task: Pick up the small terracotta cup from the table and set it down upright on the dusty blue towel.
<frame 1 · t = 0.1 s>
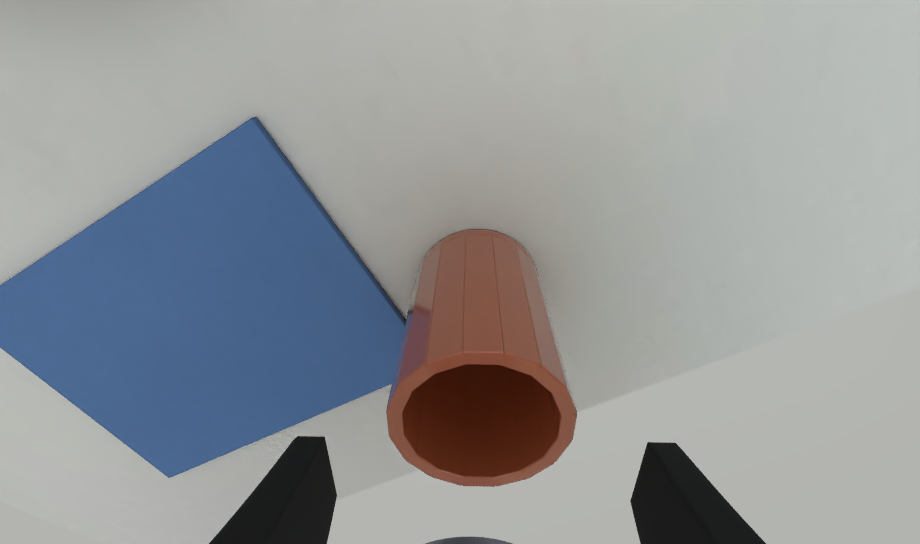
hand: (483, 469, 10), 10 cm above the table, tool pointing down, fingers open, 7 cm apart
towel: (205, 335, 21), on the table
cup: (477, 284, 19), on the table
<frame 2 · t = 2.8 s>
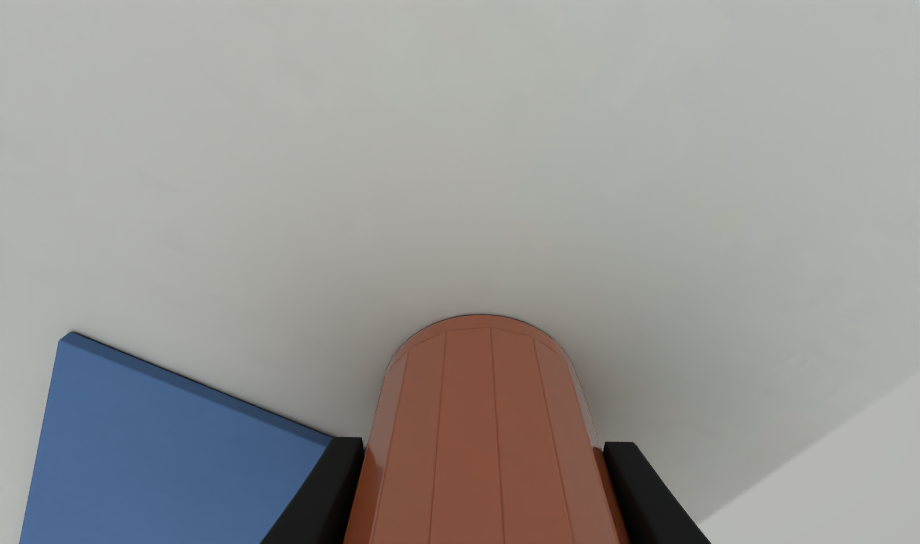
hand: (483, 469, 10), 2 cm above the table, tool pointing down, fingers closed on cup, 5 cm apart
cup: (480, 393, 12), on the table, touching gripper
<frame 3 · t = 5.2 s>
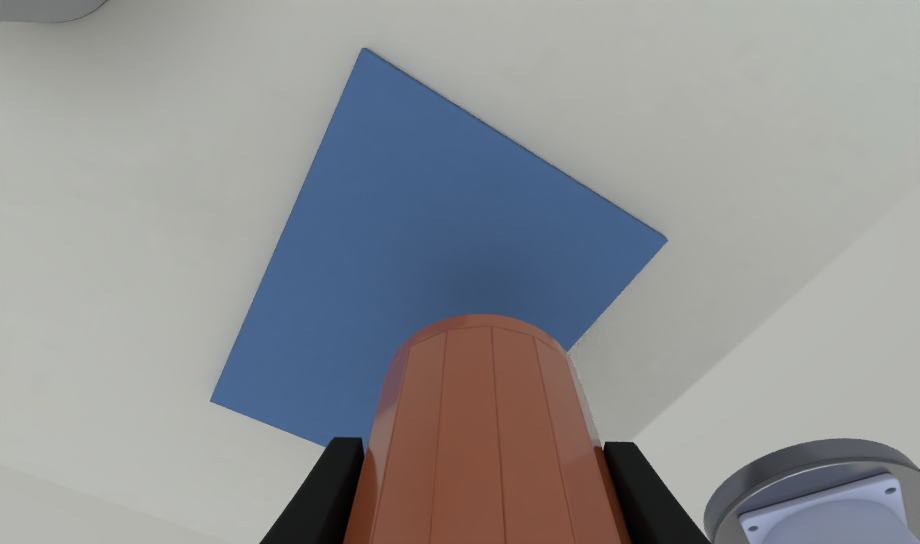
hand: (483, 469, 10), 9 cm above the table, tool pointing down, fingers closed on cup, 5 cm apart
towel: (412, 325, 20), on the table
cup: (480, 392, 12), point 7 cm above the table, touching gripper
when the fingers open (3 cm above the table, at t = 7.8 s): cup stays where it is, resting on towel.
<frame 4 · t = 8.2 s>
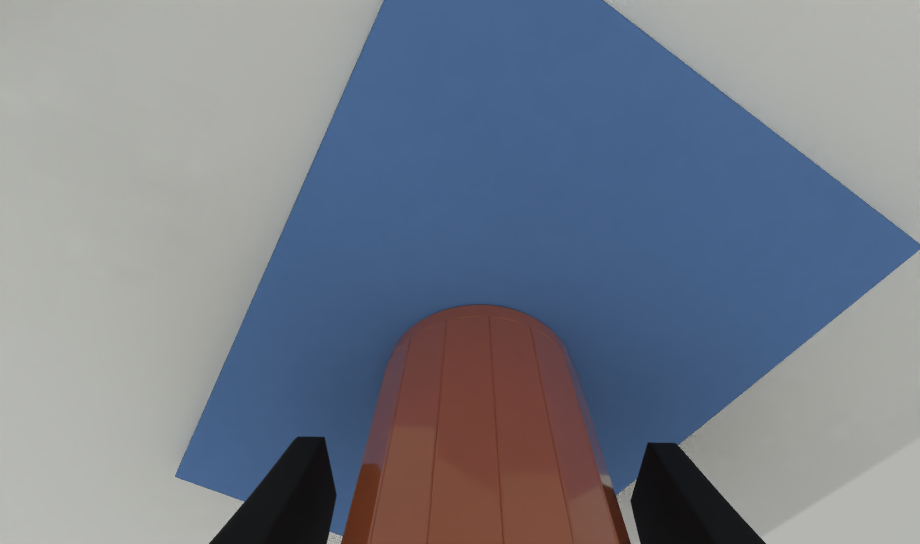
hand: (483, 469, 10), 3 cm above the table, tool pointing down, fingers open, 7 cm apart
towel: (480, 373, 13), on the table
cup: (479, 382, 13), resting on towel
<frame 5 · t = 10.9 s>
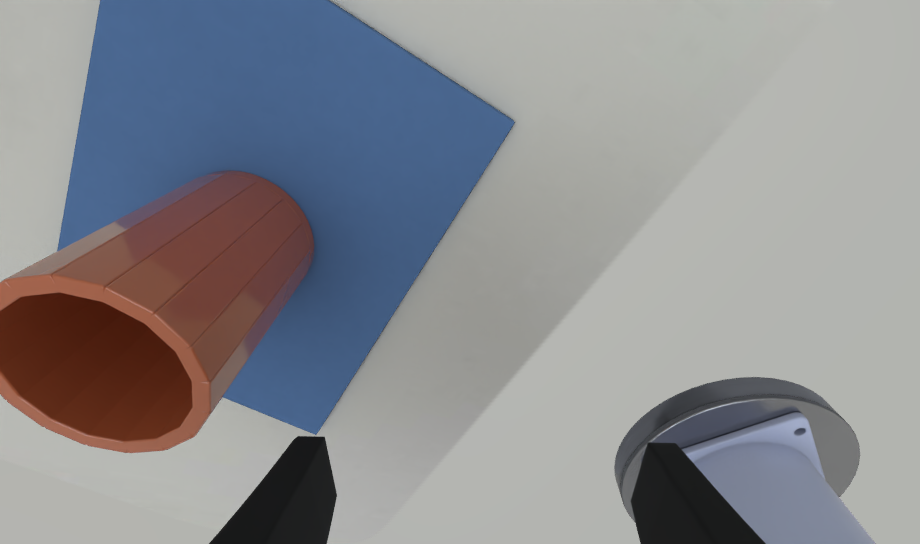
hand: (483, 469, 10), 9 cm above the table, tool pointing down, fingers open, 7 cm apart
towel: (253, 233, 18), on the table
cup: (247, 236, 17), resting on towel
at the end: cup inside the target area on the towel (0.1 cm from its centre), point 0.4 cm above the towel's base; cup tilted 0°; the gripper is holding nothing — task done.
